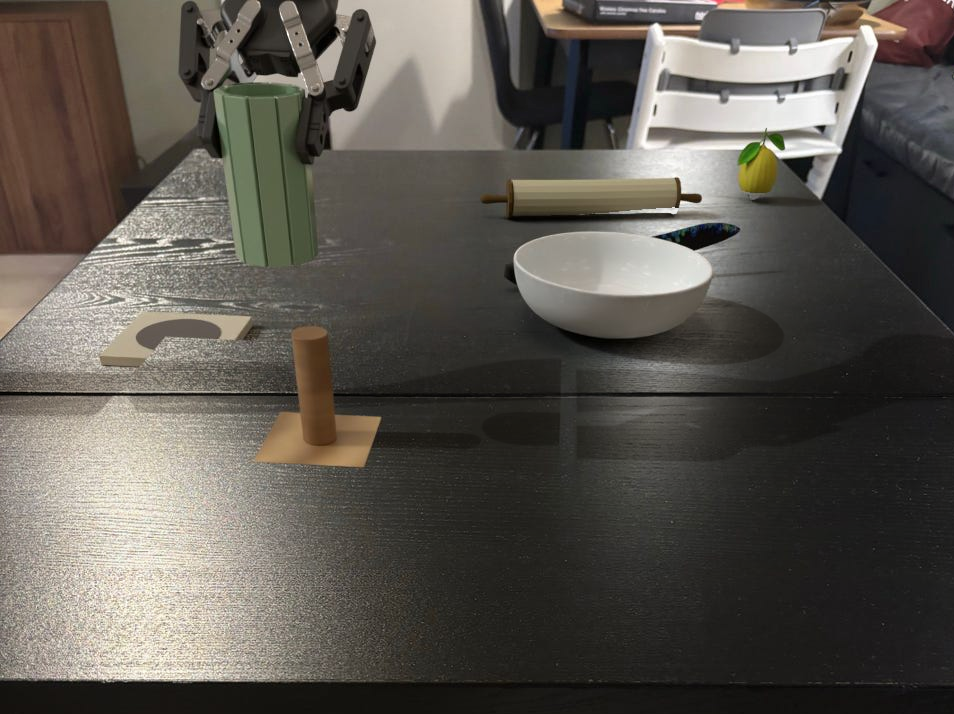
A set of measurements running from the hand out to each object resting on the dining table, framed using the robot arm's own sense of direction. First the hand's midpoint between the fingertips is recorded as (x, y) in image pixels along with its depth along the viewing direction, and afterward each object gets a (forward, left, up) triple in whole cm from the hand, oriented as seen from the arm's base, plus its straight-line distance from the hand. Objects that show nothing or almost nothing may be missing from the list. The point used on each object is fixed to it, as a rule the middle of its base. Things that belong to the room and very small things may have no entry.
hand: (258, 154), depth 66 cm
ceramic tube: (0, +2, -7) cm, 7 cm away
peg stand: (+3, -1, -23) cm, 23 cm away
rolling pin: (+27, +73, -23) cm, 81 cm away
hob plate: (-16, +20, -23) cm, 34 cm away
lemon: (+52, +85, -23) cm, 102 cm away
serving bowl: (+28, +31, -23) cm, 47 cm away
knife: (+31, +46, -22) cm, 60 cm away
